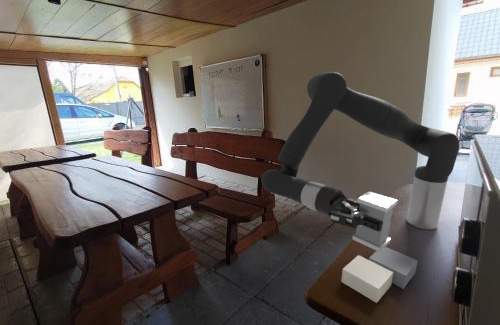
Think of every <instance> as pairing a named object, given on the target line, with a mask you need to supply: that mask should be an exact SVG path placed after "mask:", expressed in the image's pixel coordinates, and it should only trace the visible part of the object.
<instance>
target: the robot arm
mask: <svg viewBox="0 0 500 325" xmlns="http://www.w3.org/2000/svg"><path fill="white" fill-rule="evenodd" d="M306 91H307V96H309V98H310V99H311V102H310V105H309V107H308V108H307V110H306V113H305V114H304V115H303V117H302V119H300V121H299V122H298V124H297V125H296V126H295V128H294V129H293V130H292V132H291V133H290V134H289V135H288V137H287V139H286V141H285V142H284V145H283V147H282V148H281V150H280V153H279V155H278V162H279V163H281V169H280V170H278V169H269V170H266V171H265V172H264V173H263V174H262V176H261V184H262V187H263V188H264V190H266V191H267V192H269V193H272V194H275V195H278V196H281V197H285V198H288V199H289V200H292V201H294V202H295V203H298V204H301V205H303V206H305V207H307V208H309V209H310V210H313V211H315V212H317V213H320V214H323V215H324V216H327V217H330V222H331V223H334V224H338V225H341V226H345V227H348V228H353V229H357V226H365V227H368V228H370V229H373V230H375V231H378V232H380V231H381V230H382V225H383V224H382V222H380V221H377V220H375V219H372V218H369V217H367V216H366V217H365V216H364V215H362V214H360V213H359V206H360V203H358V202H357V199H358V198H359V197H360V196H361V195H357V197H356V199H354V198H351V197H346V196H345V195H344V192H343V191H342V190H341V189H338V188H335V187H332V186H329V185H326V184H324V183H319V182H316V181H315V182H314V181H311V180H308V179H305V178H302V177H298V176H297V175H298V173H299V168H300V165H301V163H302V161H303V160H304V157H305V155H306V154H307V152H308V150H309V148H310V146H311V144H312V143H313V141H314V140H315V138H316V136H317V134H318V133H319V132H320V130H321V128H322V127H323V126H324V125H325V122H326V121H327V120H328V119H329V117H330V115H331V114H332V113H333V111H334V110H335V111H338V112H340V113H342V114H344V115H346V116H347V117H348V118H350V119H352V120H353V121H356V122H357V123H359V124H360V125H362V126H364V127H366V128H368V129H370V130H372V131H373V132H375V133H377V134H380V135H382V136H384V137H387V138H390V139H393V140H395V141H396V140H397V141H399V142H402V143H404V144H405V145H407V146H408V147H410V148H411V149H412V150H414V151H415V152H417V153H419V154H420V155H422V156H424V157H427V160H426V164H425V165H421V166H418V167H416V168H415V170H414V176H413V182H412V186H411V187H412V189H411V193H410V197H409V198H410V199H409V205H408V209H407V215H406V221H407V223H408V224H409V225H411V226H413V227H416V228H418V229H422V230H426V231H427V230H429V231H430V230H435V229H436V228H438V224H439V221H440V215H441V212H442V206H443V202H444V197H445V193H446V189H447V183H448V180H449V177H450V176H451V174H452V173H453V171H454V167H455V164H456V160H457V157H458V155H459V154H458V153H459V149H460V140H459V137H458V136H457V135H456V134H455V133H452V132H448V131H444V130H442V129H441V130H440V129H436V128H433V127H432V128H431V127H427V126H425V125H422V124H420V123H417V122H415V121H414V120H413V119H411V118H410V117H409V116H408V115H407V113H406V112H405V111H403V110H402V109H401V108H399V107H398V106H396V105H394V104H392V103H390V102H389V101H387V100H384V99H382V98H378V97H375V96H372V95H369V94H364V93H363V92H358V91H355V90H353V89H352V88H349V87H348V86H347V81H346V79H345V77H344V76H343V75H342V74H341V73H339V72H336V71H327V72H320V73H318V74H316V75H314V76H312V77H311V78H310V79H309V81H308V83H307V85H306ZM364 217H365V218H364ZM393 217H394V216H393V215H392V218H391V223H392V221H393Z"/></svg>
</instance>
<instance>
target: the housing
mask: <svg viewBox="0 0 500 325" xmlns="http://www.w3.org/2000/svg"><path fill="white" fill-rule="evenodd" d="M359 196H360V197H359V198H358V199H357V198H356V199H357V202H358V203H360V206H359V213H360V214H362V215H364V216H365V217H366V216H367V217H369V218H372V219H375V220H377V221H380V222H382V224H383V225H382V230H381V231H380V232H378V231H375V230H373V229H370V228H368V227H365V226H357V228H355V229H356V230H355V234H353V235H352V240H353V241H355V242H357V243H360V244H362V245H364V246H366V247H368V248H370V249H371V250H374V251H375V252H376V251H378V252H380V251H381V250H382V249H383V248H384V247H387V246H388V245H389V244H390V243H391V237H389V233H390V228H391V223H392V222H391V218H392V219H393V217H392V216H393V212H394V207H395V206H396V205H398V199H395V198H393V197H388V196H385V195H382V194H380V193H379V194H378V193H376V192H374V191H373V192H372V191H367V192H365V193H364V194H362V195H359ZM365 217H364V218H365Z"/></svg>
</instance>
